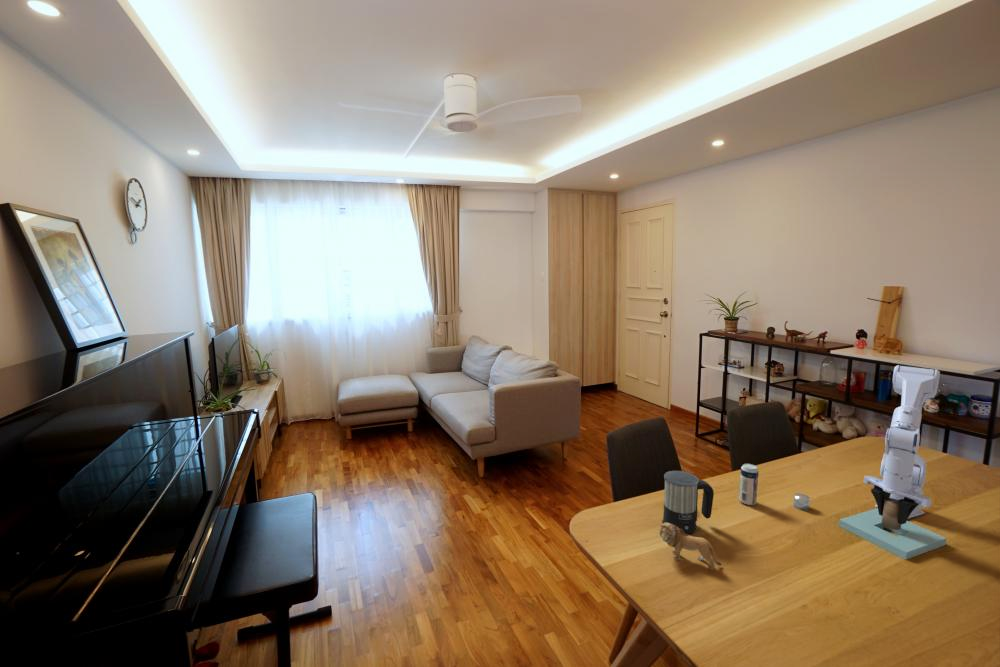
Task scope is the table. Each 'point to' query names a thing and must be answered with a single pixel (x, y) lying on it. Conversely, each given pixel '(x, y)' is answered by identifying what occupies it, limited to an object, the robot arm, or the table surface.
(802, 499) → the grey round piece
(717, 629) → the table surface
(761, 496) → the table surface
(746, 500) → the beer can
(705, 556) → the lion figurine
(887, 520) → the walnut pin
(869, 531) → the hole board
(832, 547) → the table surface
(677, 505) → the milk frother
